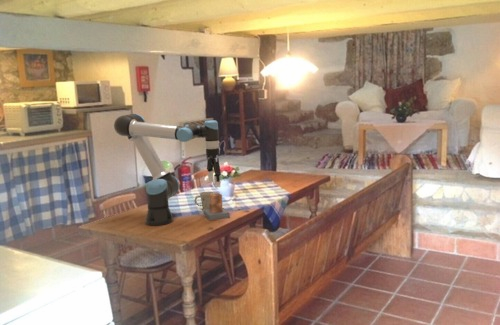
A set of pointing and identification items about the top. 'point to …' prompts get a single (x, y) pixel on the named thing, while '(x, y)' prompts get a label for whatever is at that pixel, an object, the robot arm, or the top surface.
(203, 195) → the mug
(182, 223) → the top surface
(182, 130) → the robot arm
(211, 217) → the base
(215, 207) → the block
